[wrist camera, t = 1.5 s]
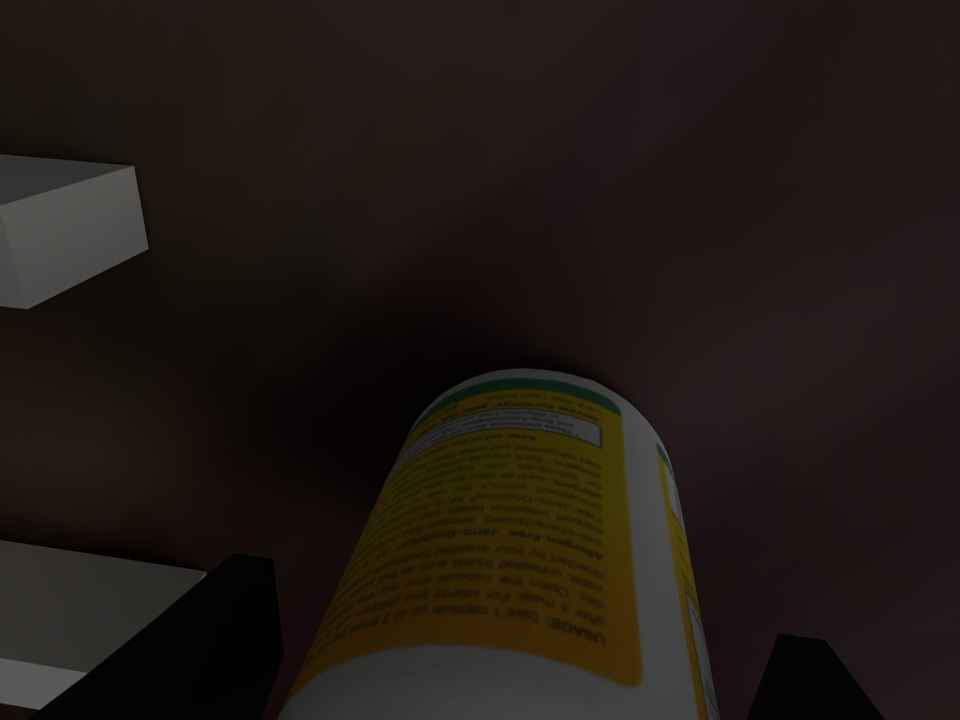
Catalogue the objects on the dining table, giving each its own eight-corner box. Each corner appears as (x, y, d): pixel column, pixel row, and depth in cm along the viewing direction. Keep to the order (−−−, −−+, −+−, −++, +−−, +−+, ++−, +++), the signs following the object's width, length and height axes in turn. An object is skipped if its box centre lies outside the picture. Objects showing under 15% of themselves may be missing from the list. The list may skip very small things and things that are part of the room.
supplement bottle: (729, 489, 13) (1014, 1401, 4) (531, 613, 15) (458, 1377, 6) (535, 299, 12) (395, 1027, 3) (350, 463, 14) (-25, 1153, 5)
